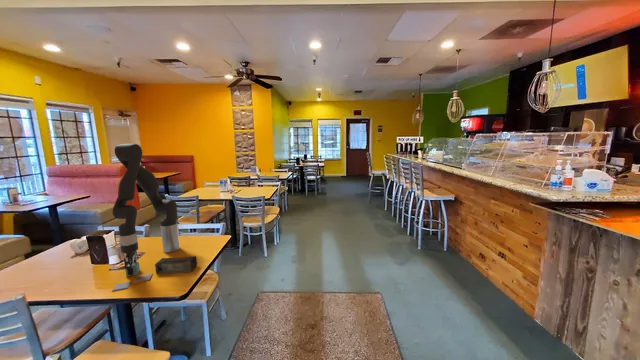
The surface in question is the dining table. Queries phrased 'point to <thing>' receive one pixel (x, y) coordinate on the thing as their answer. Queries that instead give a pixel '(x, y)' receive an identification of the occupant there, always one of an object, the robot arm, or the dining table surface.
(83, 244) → the white crumpled lump
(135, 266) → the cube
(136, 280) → the pad
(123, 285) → the pad
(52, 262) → the dining table surface
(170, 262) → the beverage carton
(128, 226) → the robot arm
